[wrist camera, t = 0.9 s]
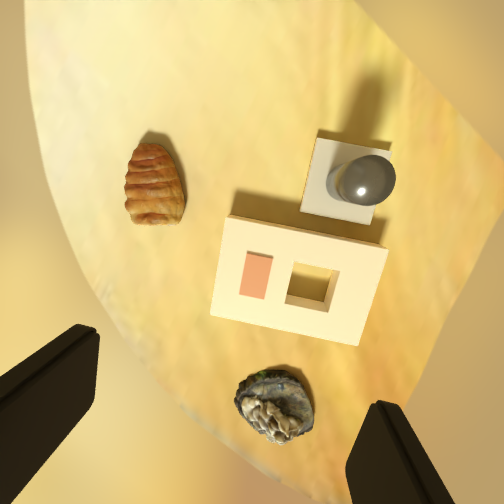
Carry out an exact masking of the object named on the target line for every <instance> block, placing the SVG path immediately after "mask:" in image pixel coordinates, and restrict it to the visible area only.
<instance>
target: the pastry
mask: <svg viewBox="0 0 504 504" xmlns="http://www.w3.org/2000/svg"><path fill="white" fill-rule="evenodd" d="M125 178H126V184H125V186H124V189H125V194H126V196H127V201H126V202H125V208H126V210H127V211H128V212H129V213H130V215H131V220H132V222H133V223H134V224H136V225H149V226H155V225H159V224H160V225H177V224H179V222H180V221H181V218H182V215H183V211H184V207H185V202H184V194H183V191H182V187H181V183H180V179H179V176H178V174H177V171H176V168H175V165H174V162H173V160H172V158H171V156H170V155H169V154H168V152H167V151H166V150H165V149H164V148H163V147H162V146H160V145H156V144H146V143H141V144H139V145H138V147H137V148H136V149H135V150H134V151H133V154H132V158H131V160H130V161H129V163H128V172H127V174H126V176H125Z"/></svg>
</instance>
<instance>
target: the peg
mask: <svg viewBox="0 0 504 504" xmlns="http://www.w3.org/2000/svg"><path fill="white" fill-rule="evenodd" d="M395 181H396V175H395V170H394V168H393V166H392V164H391V163H390V162H389V161H388V160H387V159H386V158H384V157H382V156H379V155H366V156H363V157H360V158H357V159H354V160H352V161H349V162H346V163H343V164H340V165H338V166H336V167H334V168H333V169H332V170H331V171H330V172H329V174H328V176H327V179H326V189H327V192H328V194H329V195H330V196H331V197H332V198H333V199H335V200H338V201H342V202H347V203H352V204H357V205H362V206H373V205H376V204H379V203H381V202H382V201H384V200H385V199H386V198H387V197H388V196H389V195H390V194H391V192H392V190H393V188H394V186H395Z"/></svg>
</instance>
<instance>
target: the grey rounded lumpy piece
mask: <svg viewBox="0 0 504 504" xmlns="http://www.w3.org/2000/svg"><path fill="white" fill-rule="evenodd" d="M234 403H235V405H236V407H237V408H238V411H239V413H240V415H242V417H243V418H244V419H246V421H247V422H248V423H249V424H250V426H252V427H253V429H255V430H256V431H258V432H259V433H260V434H266V439H267V440H268V441H269V442H272V443H275V442H277V444H279V445H284V444H286V443H287V441H292V440H293V437H298V436H299V435H303V434H304V432H309V431H310V430H312V428H313V424H314V414H313V410H312V406H311V403H310V400H309V398H308V395H307V393H306V391H305V388H304V386H303V385H302V383H301V382H300V381H299V380H298V379H297V378H296V377H294V376H293V375H291V374H290V373H288V372H287V371H285V370H264V371H260V372H258V373H257V374H255V375H253V376H248V377H247V379H246V380H244V381H243V382H241V383H239V389H238V390H237V392H236V397H235V398H234Z"/></svg>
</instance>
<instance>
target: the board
mask: <svg viewBox="0 0 504 504" xmlns="http://www.w3.org/2000/svg"><path fill="white" fill-rule="evenodd" d="M388 252H389V249H387V248H385V247H383V246H381V245H380V244H376V243H371V242H366V241H361V240H356V239H351V238H346V237H341V236H336V235H331V234H326V233H321V232H316V231H311V230H306V229H301V228H296V227H291V226H286V225H281V224H276V223H271V222H265V221H260V220H255V219H250V218H245V217H240V216H235V215H229V216H227V217H226V219H225V225H224V231H223V237H222V243H221V249H220V256H219V262H218V268H217V274H216V280H215V286H214V292H213V299H212V305H211V311H210V315H213V316H218V317H223V318H228V319H232V320H237V321H242V322H246V323H251V324H256V325H260V326H265V327H270V328H274V329H279V330H284V331H289V332H293V333H298V334H303V335H307V336H312V337H317V338H321V339H326V340H331V341H335V342H340V343H345V344H349V345H354V346H358V344H359V341H360V338H361V334H362V331H363V328H364V325H365V322H366V319H367V316H368V313H369V310H370V307H371V304H372V301H373V298H374V295H375V292H376V289H377V286H378V283H379V280H380V277H381V274H382V271H383V268H384V264H385V261H386V258H387V255H388ZM294 262H298V263H303V264H308V265H313V266H318V267H323V268H328V269H333V270H332V274H331V277H330V281H329V285H328V288H327V292H326V295H325V299H324V302H321V301H316V300H311V299H306V298H302V297H297V296H292V295H287V290H288V286H289V281H290V277H291V273H292V269H293V265H294Z"/></svg>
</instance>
